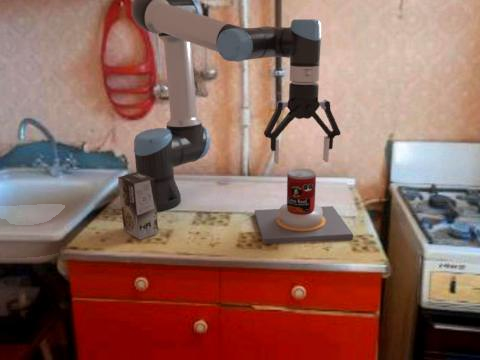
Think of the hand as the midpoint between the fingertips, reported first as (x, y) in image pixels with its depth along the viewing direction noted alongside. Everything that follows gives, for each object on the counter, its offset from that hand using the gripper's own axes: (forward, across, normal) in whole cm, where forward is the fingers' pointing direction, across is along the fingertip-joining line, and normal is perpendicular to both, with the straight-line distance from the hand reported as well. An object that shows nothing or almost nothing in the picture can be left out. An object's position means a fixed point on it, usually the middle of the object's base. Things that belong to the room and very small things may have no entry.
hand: (300, 161), depth 131 cm
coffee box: (+20, -44, +2) cm, 49 cm away
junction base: (+19, 0, 0) cm, 19 cm away
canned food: (+14, 0, 0) cm, 14 cm away
